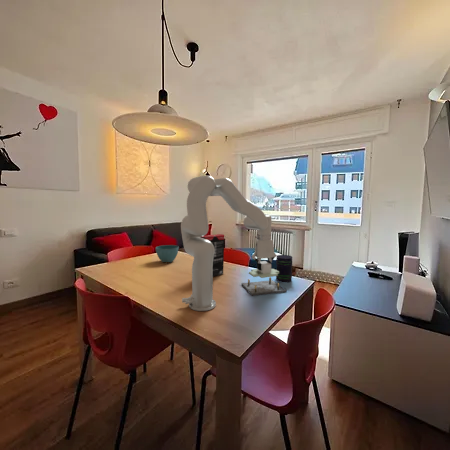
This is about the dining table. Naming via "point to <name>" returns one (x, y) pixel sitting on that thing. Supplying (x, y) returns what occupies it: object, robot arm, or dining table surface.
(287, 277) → the storage jar
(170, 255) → the teal bowl
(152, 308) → the dining table surface
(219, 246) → the graphics card box
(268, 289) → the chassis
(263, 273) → the board
